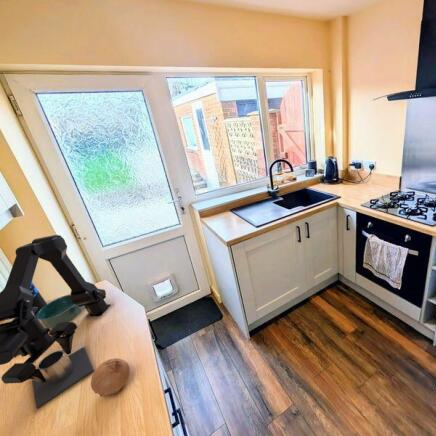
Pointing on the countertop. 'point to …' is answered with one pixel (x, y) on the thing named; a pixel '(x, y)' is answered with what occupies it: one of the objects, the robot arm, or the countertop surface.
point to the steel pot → (56, 367)
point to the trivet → (50, 391)
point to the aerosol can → (37, 299)
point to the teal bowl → (58, 312)
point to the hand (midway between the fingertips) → (57, 367)
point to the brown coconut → (110, 376)
